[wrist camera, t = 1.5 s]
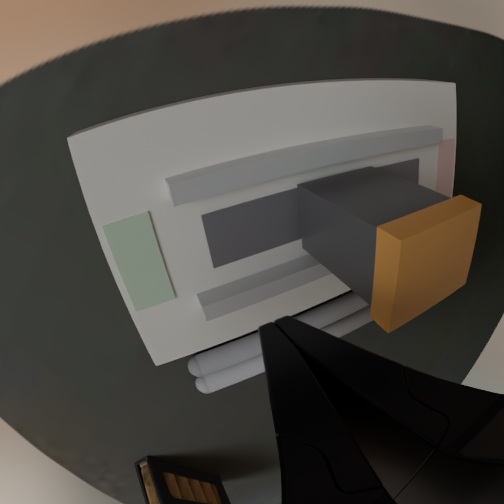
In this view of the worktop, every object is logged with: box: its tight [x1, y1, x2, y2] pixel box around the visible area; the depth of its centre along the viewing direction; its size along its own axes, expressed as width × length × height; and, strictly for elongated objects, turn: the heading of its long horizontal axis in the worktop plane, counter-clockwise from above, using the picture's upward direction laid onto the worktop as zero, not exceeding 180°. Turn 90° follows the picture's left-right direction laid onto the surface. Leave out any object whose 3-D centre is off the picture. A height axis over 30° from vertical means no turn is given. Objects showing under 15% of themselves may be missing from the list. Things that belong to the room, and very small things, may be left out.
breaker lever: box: [297, 166, 482, 333], centre depth 12 cm, size 4×3×6 cm
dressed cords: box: [188, 291, 373, 393], centre depth 21 cm, size 17×3×1 cm, turn 99°
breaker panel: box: [67, 78, 456, 366], centre depth 15 cm, size 20×11×4 cm, turn 99°
